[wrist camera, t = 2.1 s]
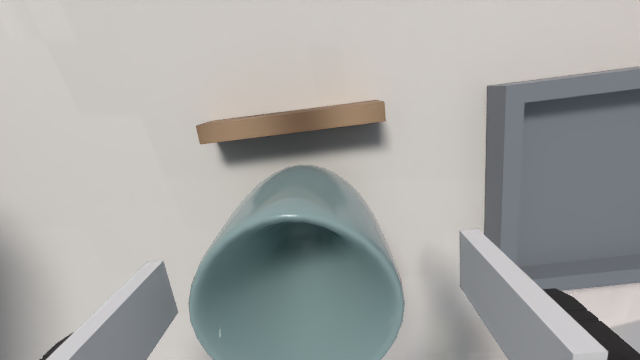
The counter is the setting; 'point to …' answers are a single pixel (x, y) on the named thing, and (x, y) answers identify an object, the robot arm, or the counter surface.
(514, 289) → the robot arm
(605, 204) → the dock cradle
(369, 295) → the cup
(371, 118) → the dock rails
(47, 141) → the counter surface
